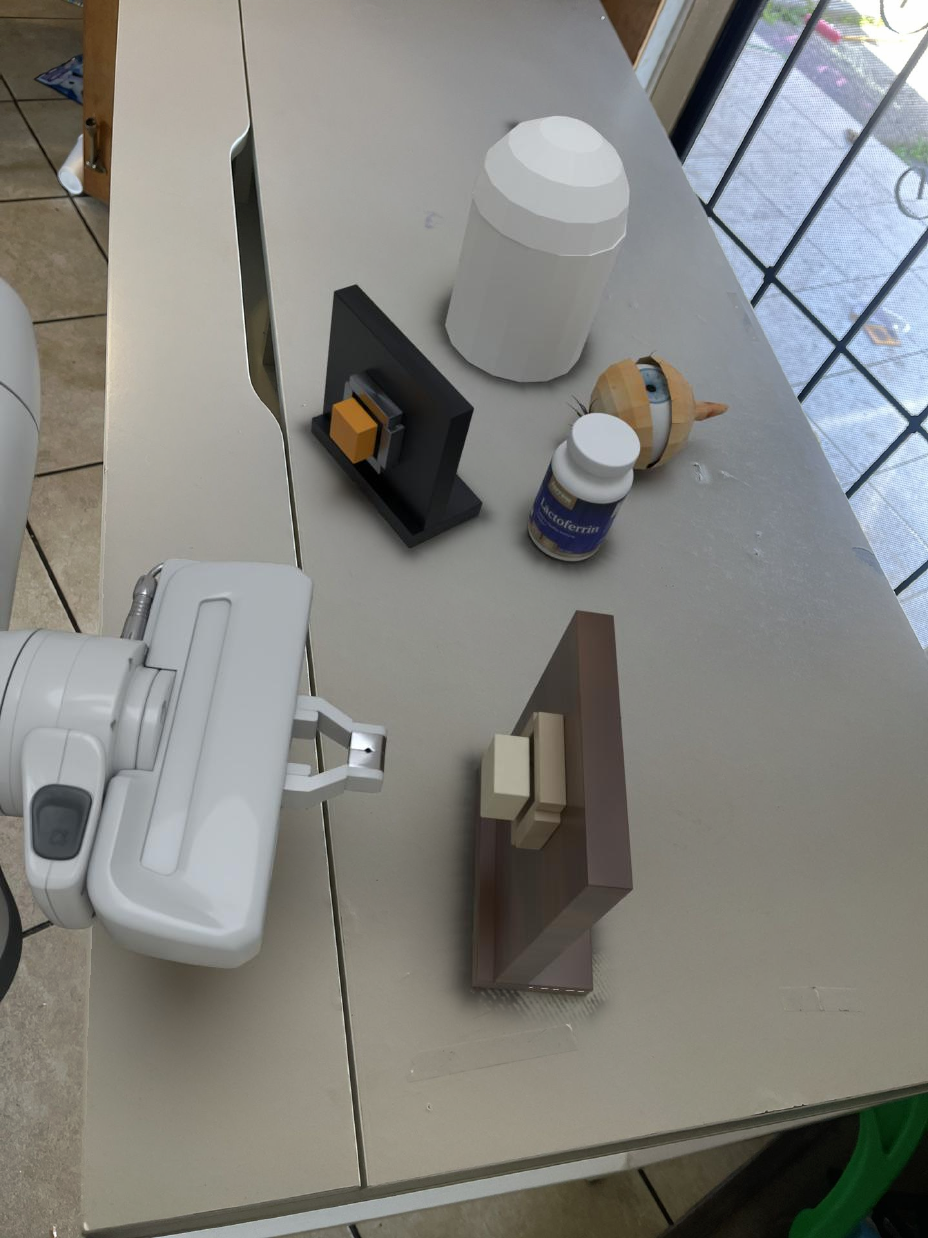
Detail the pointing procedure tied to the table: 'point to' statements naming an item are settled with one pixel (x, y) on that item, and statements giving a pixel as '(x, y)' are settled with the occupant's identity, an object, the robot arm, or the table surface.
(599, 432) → the pill bottle
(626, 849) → the brown button panel
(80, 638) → the robot arm
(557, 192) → the container
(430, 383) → the black button panel
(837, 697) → the table surface
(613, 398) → the sculpture
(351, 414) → the button far
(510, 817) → the button near
